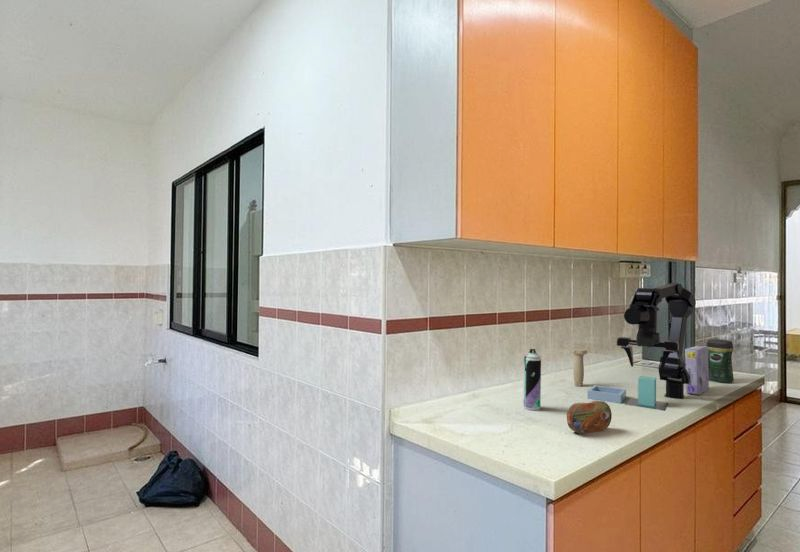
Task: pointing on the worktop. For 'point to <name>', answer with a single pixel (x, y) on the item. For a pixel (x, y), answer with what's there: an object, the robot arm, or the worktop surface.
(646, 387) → the turquoise rectangular block
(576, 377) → the handle
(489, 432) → the worktop surface
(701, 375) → the cake pan box
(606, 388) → the bin
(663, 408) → the ball stud
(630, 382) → the worktop surface
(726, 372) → the coffee jar
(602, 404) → the tin
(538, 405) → the spray can
